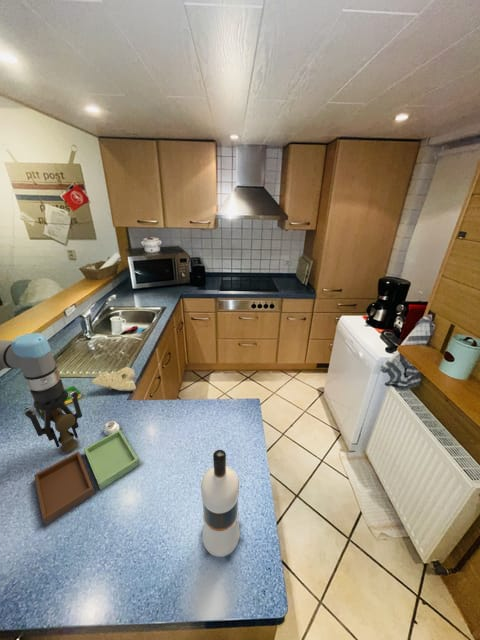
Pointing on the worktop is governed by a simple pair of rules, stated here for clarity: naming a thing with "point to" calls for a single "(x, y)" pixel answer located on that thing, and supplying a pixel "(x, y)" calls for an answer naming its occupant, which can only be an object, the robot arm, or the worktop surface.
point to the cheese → (117, 380)
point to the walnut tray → (62, 487)
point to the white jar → (111, 427)
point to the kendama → (63, 429)
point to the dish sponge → (68, 396)
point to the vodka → (220, 507)
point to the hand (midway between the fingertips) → (66, 439)
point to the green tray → (111, 458)
